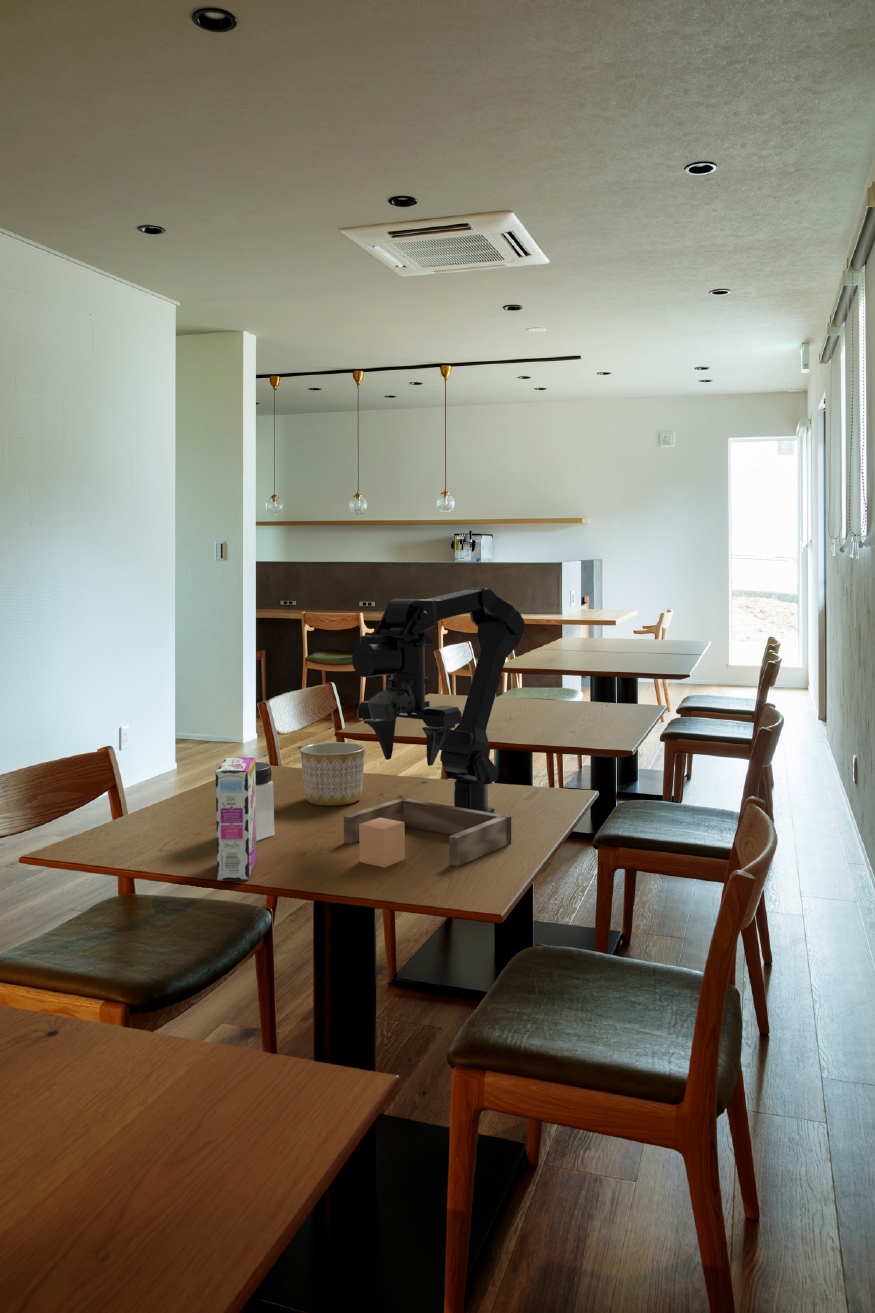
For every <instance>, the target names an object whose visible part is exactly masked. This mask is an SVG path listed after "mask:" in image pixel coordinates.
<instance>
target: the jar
mask: <svg viewBox="0 0 875 1313" xmlns="http://www.w3.org/2000/svg"><path fill="white" fill-rule="evenodd" d="M272 775H273V774H272V765H271V764H269V763H266V762H260V761H255V776H256V842H260V841H261V840H264V839H267V838H271V837H273V836H275V809H274V808H275V806H274V805H275V803H274V802H275V800H274V782H273V781H272Z"/></svg>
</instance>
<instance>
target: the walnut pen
mask: <svg viewBox="0 0 875 1313" xmlns="http://www.w3.org/2000/svg"><path fill="white" fill-rule="evenodd" d="M377 818H385V819H390V820H396V821H401V822H404V824H405V827H410V828H416V829H421V830H426V831H430V832H435V833H441V834H446V835H449V836H448V845H449V846H448V850H449V851H448V858H449V861H448V863H449V864H448V866H452V867H456V868H458V867H460V866H462V865H464V864H467V863H469V862H471V861H474V860H476V859H478V858H481V857H483V856H484V855H488V854H490V853H492V852H495V851H496V850H499V849H501V848H504V847H506V846H509V845H510V844H512V816H511V815H506V814H505V815H504V814H500V813H494V812H491V813H489V812H483V811H477V810H471V809H465V808H459V807H454V805H447V804H440V803H435V802H429V801H423V800H417V799H412V798H406V797H399V798H397V799H394V800H390V801H387V802H384V803H381V804H377V805H374V806H371V807H369V808H365V809H361V810H358V811H355V812H352V813H349V814H345V815H343V844H345V843H346V844H349V845H352V844H355V843H359V824H362V823H365V822H368V821H371V820H374V819H377Z"/></svg>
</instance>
